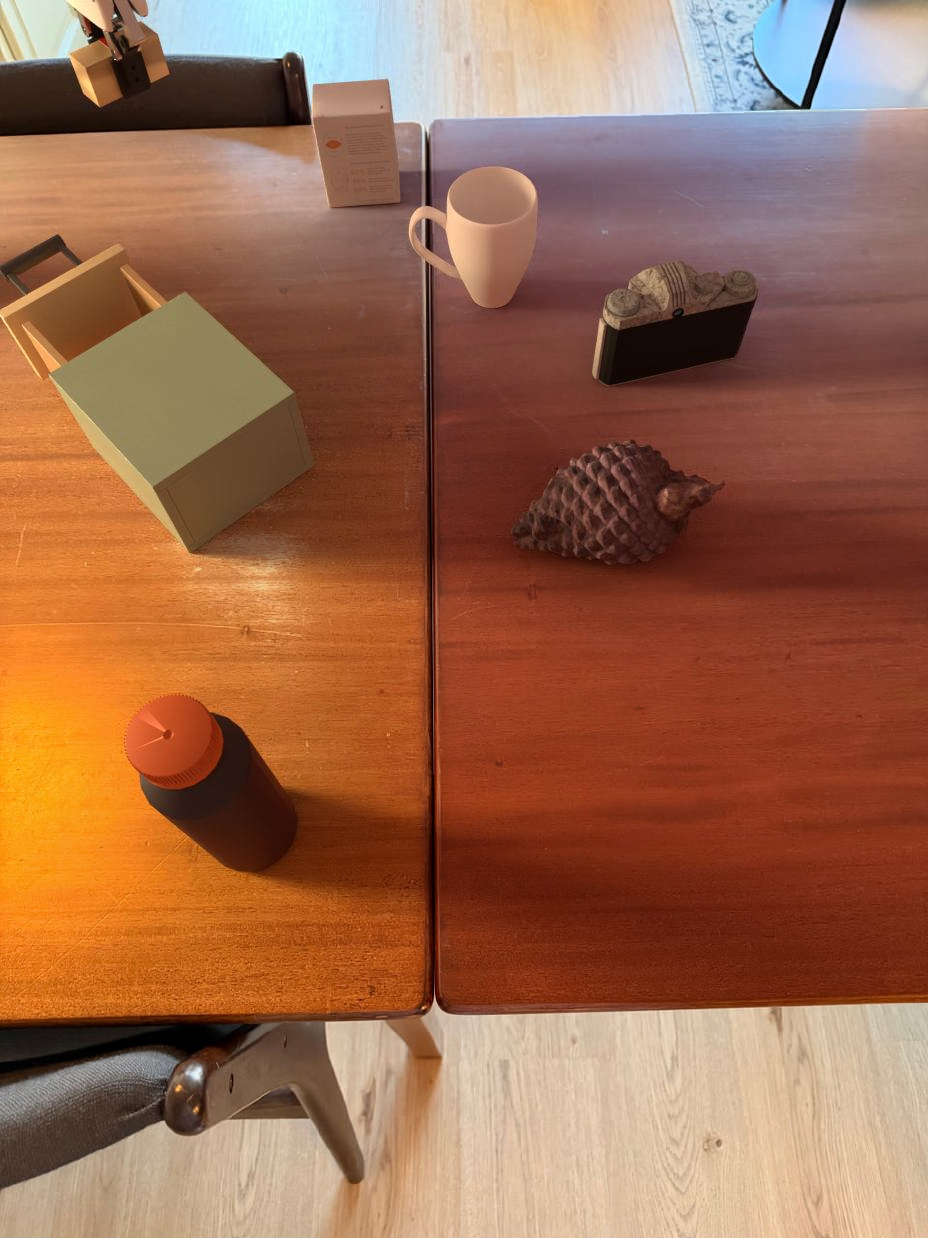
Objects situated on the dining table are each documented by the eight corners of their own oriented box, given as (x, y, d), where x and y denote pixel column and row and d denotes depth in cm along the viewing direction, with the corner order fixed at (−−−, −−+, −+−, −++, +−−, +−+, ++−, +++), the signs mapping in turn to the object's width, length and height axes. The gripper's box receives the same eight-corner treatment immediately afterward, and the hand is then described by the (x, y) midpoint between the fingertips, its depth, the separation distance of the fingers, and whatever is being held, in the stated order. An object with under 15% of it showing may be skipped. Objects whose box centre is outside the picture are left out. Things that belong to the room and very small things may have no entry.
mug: (531, 263, 93) (536, 163, 83) (534, 322, 90) (539, 225, 80) (416, 265, 94) (407, 166, 84) (413, 324, 90) (403, 227, 80)
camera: (717, 308, 90) (742, 223, 81) (744, 358, 87) (773, 275, 78) (576, 339, 88) (586, 256, 80) (598, 391, 85) (611, 310, 77)
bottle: (195, 864, 66) (87, 783, 48) (223, 776, 69) (131, 669, 51) (284, 881, 65) (208, 805, 47) (309, 791, 68) (245, 688, 50)
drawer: (-1, 333, 89) (-42, 269, 82) (108, 270, 93) (77, 204, 86) (118, 463, 82) (83, 404, 75) (231, 389, 85) (208, 326, 78)
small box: (399, 170, 101) (390, 76, 91) (401, 204, 98) (392, 111, 89) (327, 174, 101) (311, 81, 91) (327, 208, 98) (310, 116, 89)
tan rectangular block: (83, 93, 93) (67, 52, 89) (152, 60, 95) (140, 19, 92) (100, 108, 91) (85, 67, 88) (170, 74, 94) (158, 33, 90)
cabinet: (93, 447, 84) (47, 373, 75) (215, 369, 88) (185, 290, 79) (189, 553, 78) (152, 487, 70) (315, 465, 82) (294, 391, 74)
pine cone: (527, 611, 75) (492, 507, 70) (525, 552, 83) (494, 455, 78) (743, 559, 71) (723, 445, 66) (719, 502, 79) (700, 397, 74)
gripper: (145, -110, 75) (202, 104, 92) (44, -178, 81) (115, 35, 97) (66, -78, 73) (139, 136, 89) (-32, -151, 79) (53, 63, 95)
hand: (126, 81), depth 93 cm, fingers closed on tan rectangular block, 3 cm apart
